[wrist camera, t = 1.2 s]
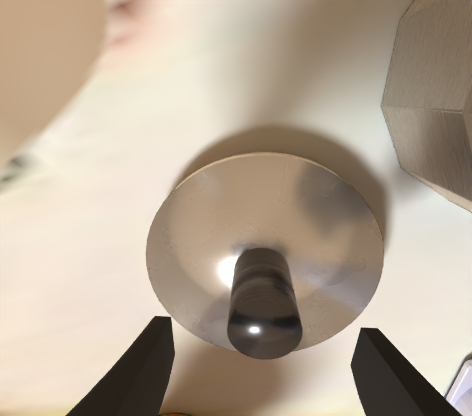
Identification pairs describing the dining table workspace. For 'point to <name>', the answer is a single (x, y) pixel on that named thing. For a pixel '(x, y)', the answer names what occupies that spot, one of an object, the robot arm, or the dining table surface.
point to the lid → (264, 254)
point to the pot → (433, 96)
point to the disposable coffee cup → (174, 415)
